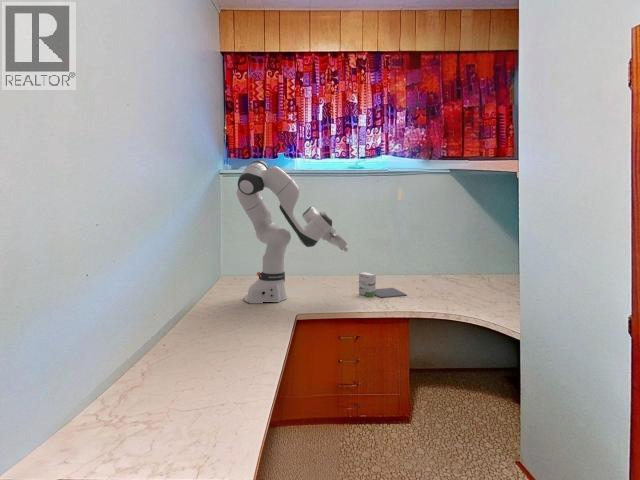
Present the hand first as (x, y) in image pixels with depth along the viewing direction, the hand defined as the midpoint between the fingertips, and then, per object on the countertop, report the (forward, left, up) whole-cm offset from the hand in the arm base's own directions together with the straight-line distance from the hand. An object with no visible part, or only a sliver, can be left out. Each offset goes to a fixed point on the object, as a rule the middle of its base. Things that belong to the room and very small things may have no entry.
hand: (344, 249), depth 231 cm
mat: (+25, 0, -25) cm, 36 cm away
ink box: (+13, 0, -26) cm, 29 cm away
